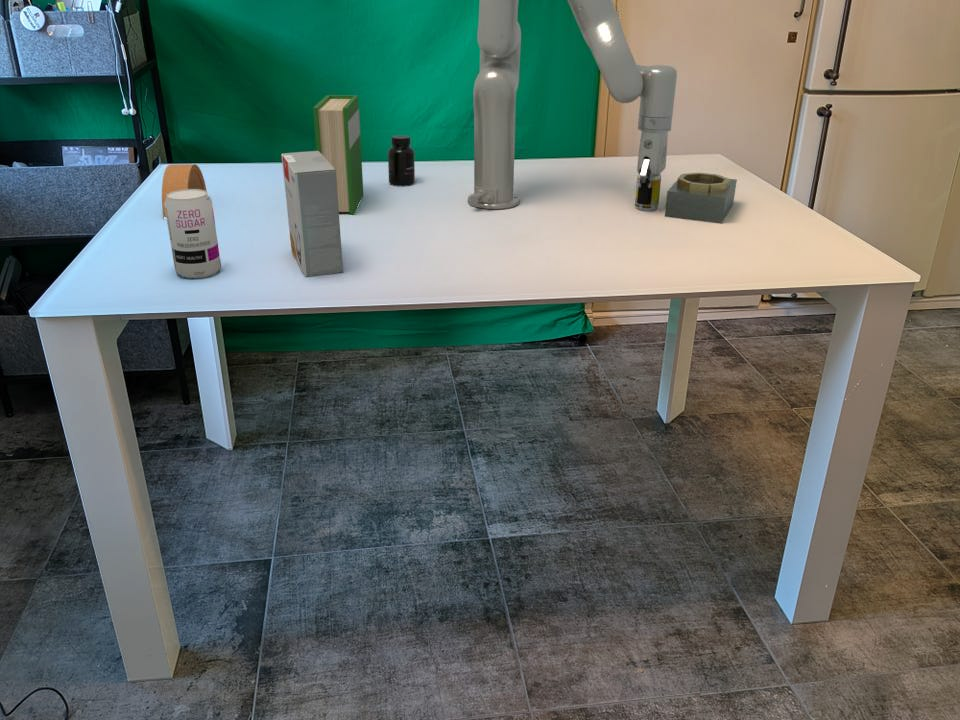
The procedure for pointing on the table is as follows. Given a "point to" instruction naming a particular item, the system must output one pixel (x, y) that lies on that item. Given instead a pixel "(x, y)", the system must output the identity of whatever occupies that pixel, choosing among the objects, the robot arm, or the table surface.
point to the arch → (181, 180)
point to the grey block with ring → (700, 197)
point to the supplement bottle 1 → (401, 161)
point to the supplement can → (192, 233)
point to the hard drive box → (313, 212)
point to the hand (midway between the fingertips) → (647, 200)
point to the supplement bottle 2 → (655, 193)
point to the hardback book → (341, 145)
